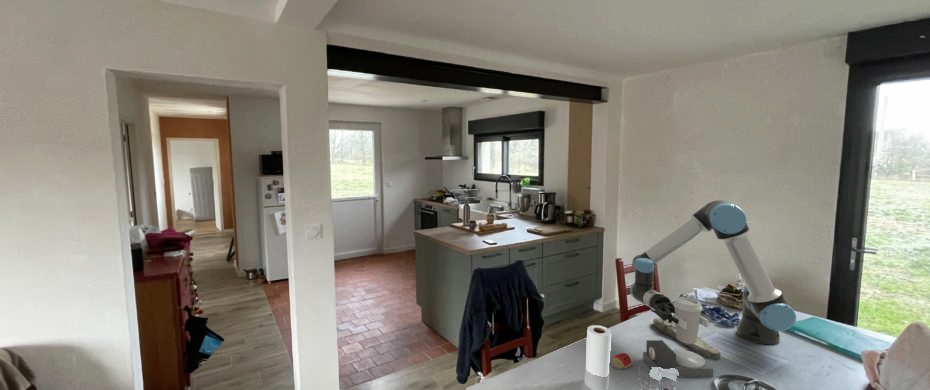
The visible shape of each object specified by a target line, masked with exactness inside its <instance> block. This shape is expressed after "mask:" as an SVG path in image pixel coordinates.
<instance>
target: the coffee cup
mask: <svg viewBox="0 0 930 390" xmlns="http://www.w3.org/2000/svg"><path fill="white" fill-rule="evenodd" d="M672 303H673V306H674V307H675V314H674V315H676V316H677V317H679V318H681V319H683V320H685V321H686V322H687V329H684V328H682V327H680V326H679V325H677V324H676V337H677V340H676V341H679V342H680V341H681V342H680V343H682V342H683V343H687V344H694V343H696V341H697V337H698V334H699V326H700V324H699V321H700V316H701V313H702V311H703V310H704V309H703V308H704V307H703V306H702V304H701V302H700V301H699V300H697V299H694V298H690V297H677V298H676V299H675V300H674V301H673V302H672Z"/></svg>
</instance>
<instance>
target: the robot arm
mask: <svg viewBox="0 0 930 390" xmlns="http://www.w3.org/2000/svg"><path fill="white" fill-rule="evenodd" d="M712 230H713V232H714V234H715V236H716V238H717V239H718V240H720V241H723V243H724V245H725V247H726V248H727V251H728V253H729V255H730V256H731V259H732V261H733V263H734V265H735V267H736V269H737V271H738V273H739V275H740V277H741V279H742V281H743V282H744V284H745V285H744V286H743V290H742V310H741V311H742V313H741V315H742V316H741V318H740V320H739V322H738V325H737V326H736V334H737V335H738V336H739V337H741V339H744V340H748V341H749V342H753V343H757V344H762V345H778V344H779V343H780V341H781V337H780V336H781V335H780V333H779V332H781V331H782V332H784V331H787V330H788V329H791V328H792V327H793V326H794V325H795V323H796V322H797V314H796V312H795V310H794V308H793V307H791V306H790V305H789V304H788V302H787V300H786V298H785V296H784V294H783V292H782V291H781V289H778V288H776V287H774V284H773V283H772V281H771V279H770V277H769V274H768V273H767V271H766V269H765V267H764V265H763V263H762V261H761V259H760V257H759V255H758V253H757V251H756V249H755V247H754V245H753V243H752V241H751V239H750V237H749V235H748V233H749V232H750V227H749V225H748V223H747V216H746V213H745V211H744V210H743V209H742V208H741V207H740V206H738V205H736V204H733V203H731V202H727V201H724V200H713V201H711V202H708V203H707V204H705V205H704V206H703V207H701V208H700V209H699V210H697V211H696V212H694V213H693V214H692V215H691V217H690V219H689V220H687V221H686V222H685V223H683V224H682V225H681V226H679V227H677V229H675V230H674V231H672V232H671V233H669V234H668V235H666V236H665V237H664V238H662V239H661V240H660V241H658V242H657V243H655V244H654V245H652V246H651V247H650V248H648V249H647V250H646V251H644V252H642V253H641V254H637V255H636V256H634V257H633V259H632V268H633V270H634V282H633V283H632V284H631V286H630V287H629V293H630V296H631V297H632V298H634V299H635V300H636V301H638V302H640V303H642V304H644V306H647V307H648V308H650V310H651V311H650V312H651V313H654V314H655V315H657V316H658V317H659V318H661V319H662V320H664V321H666V320H667V321H668V323H676V324H677V325H679V326H680V327H682V328H684V329H687V322H686V321H685V320H683V319H681V318H679V317H677V316H676V315H675V307H674V306H673V303H674V302H672V301H671V299H670V298H669V297H667V296H666V295H664V294H662V293H661V292H658V291H656V290H655V289H654V273H655V272H654V271H655V267H656V266H657V265H658V264H659V263H661V262H662V261H664V260H665V259H666V258H668V257H669V256H671V255H673V254H674V253H675V252H677V251H678V250H680V249H682V248H684V247H685V246H687V244H689V243H690V242H692V241H693V240H695V239H696V238H698V237H699V236H700V235H702V234H703V233H708V232H710V231H712ZM709 322H710V320H709V319H707V318H705V317H703V316H702V315H700V321H699V325H701V326H703V327H705V328H709V325H710V324H709Z"/></svg>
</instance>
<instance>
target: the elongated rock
mask: <svg viewBox="0 0 930 390" xmlns="http://www.w3.org/2000/svg"><path fill="white" fill-rule="evenodd" d="M652 323H653V325H654V326H655V327H656V328H657V329H658V330H659V331H661V332H663V334H664V335H666V336H669V337H671V338H672V339H674V340H676V341H678V340H677V337H676V323H674V322H672V323H668V320H666V321H664V320H662V319H661V318H660V317H659V318H653V322H652ZM679 342H680V343H682V345H684V346H687V347H688V348H690V349H692V350H693V351H694V352H695V353H697V354H699V355H701V356H702V357H703V356H704V357H707V358H709V359H713V360H719V359H721V358H722V353H721V351H720V350H719V349H718V348H717V347H716V346H714V345H711V344H710V343H709V342H707V341H706V340H704V339H702V338H700V337H699V336H697V341H696V343H694V344H687V343H683V342H681V341H679Z"/></svg>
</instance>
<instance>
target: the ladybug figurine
mask: <svg viewBox="0 0 930 390" xmlns="http://www.w3.org/2000/svg"><path fill="white" fill-rule="evenodd" d="M632 364H633V361H632V358H631V356H630V355H629V354H628V353H624V352H622V353H617V354H615V355H614V356H613V357H612V359H611V361H610V365H611V366H612V367H613V368H614V369H618V370H624V369H628V368H629V367H631V366H632Z"/></svg>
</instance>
